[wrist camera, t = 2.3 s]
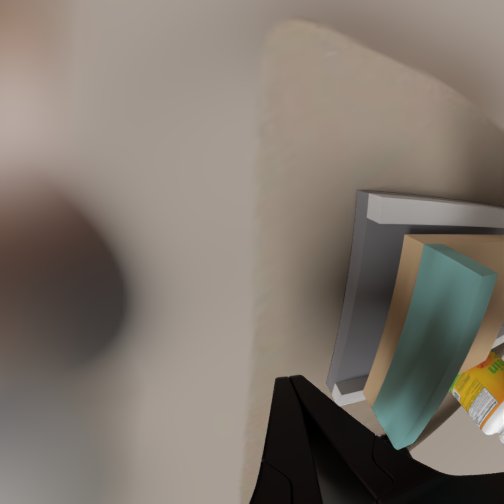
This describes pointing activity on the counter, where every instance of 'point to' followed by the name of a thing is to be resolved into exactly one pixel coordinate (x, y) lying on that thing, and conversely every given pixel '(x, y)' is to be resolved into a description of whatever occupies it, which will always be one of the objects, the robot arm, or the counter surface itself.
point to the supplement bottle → (483, 394)
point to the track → (390, 272)
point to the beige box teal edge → (435, 327)
